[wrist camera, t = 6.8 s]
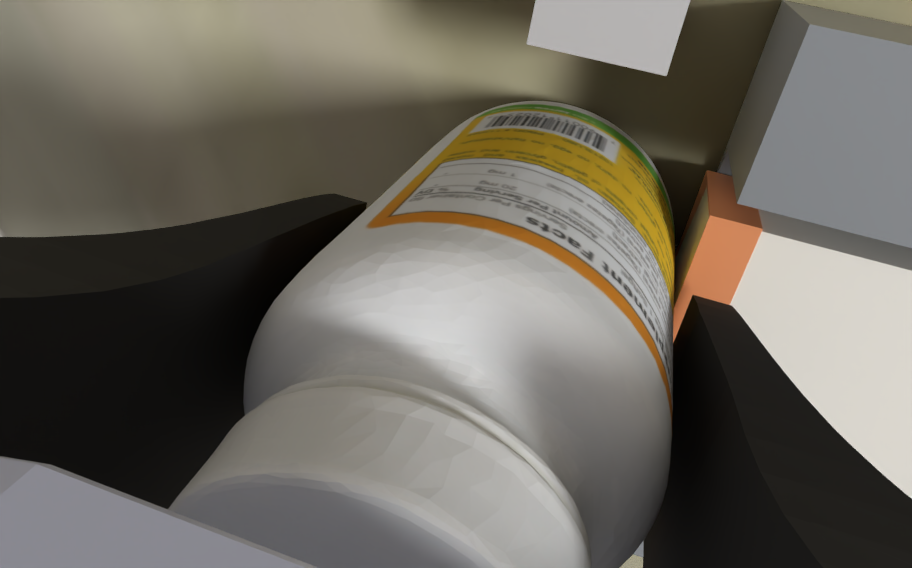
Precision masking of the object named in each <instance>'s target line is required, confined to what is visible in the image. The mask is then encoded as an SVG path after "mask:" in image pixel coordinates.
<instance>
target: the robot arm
mask: <svg viewBox="0 0 912 568" xmlns="http://www.w3.org/2000/svg"><path fill="white" fill-rule="evenodd" d="M366 204H367V203H366V202H362V201H359V200H355V199H351V198H348V197H344V196H341V195H337V194H325V195H318V196H313V197H308V198H303V199H299V200H295V201H290V202H286V203H282V204H278V205H274V206H269V207H265V208H261V209H257V210H253V211H248V212H244V213H240V214H235V215H230V216H225V217H220V218H215V219H211V220H206V221H201V222H196V223H191V224H186V225H180V226H174V227H167V228H160V229H153V230H144V231H135V232H126V233H116V234H103V235H82V236H60V237H0V568H318V567H316V566H313V565H310V564H308V563H305V562H303V561H300V560H298V559H295V558H292V557H290V556H287V555H285V554H282V553H279V552H277V551H274V550H272V549H269V548H266V547H264V546H261V545H259V544H256V543H253V542H251V541H248V540H246V539H243V538H240V537H238V536H235V535H233V534H230V533H227V532H225V531H222V530H220V529H217V528H214V527H212V526H209V525H207V524H204V523H201V522H199V521H196V520H194V519H191V518H188V517H186V516H183V515H181V514H178V513H175V512H173V511H170V510H168V508H169V507H170V506H171V504H172V503H173V502H174V501H175V499H176V498H177V497H178V495H179V494H180V493H181V492H182V490H183V489H184V488H185V487H186V486H187V484H188V483H189V482H190V481H191V480H192V478H193V477H194V476H195V475H196V474H197V472H198V471H199V470H200V469H201V468H202V466H203V465H204V464H205V463H206V462H207V460H208V459H209V458H210V457H211V455H212V454H213V453H214V451H215V450H216V449H217V447H218V446H219V445H220V443H221V442H222V441H223V439H224V438H225V436H226V435H227V434H228V432H229V431H230V430H231V429H232V428H233V426H234V425H235V424H236V423H237V422H238V421H239V420H241V419H242V418H243V417H244V416H245V413H244V404H243V396H244V379H245V370H246V364H247V358H248V355H249V351H250V348H251V345H252V342H253V339H254V337H255V334H256V332H257V330H258V328H259V325H260V323H261V321H262V319H263V318H264V316H265V314H266V313H267V311H268V309H269V308H270V306H271V305H272V303H273V302H274V300H275V299H276V298H277V297H278V295H279V294H280V293H281V292H282V291H283V290H284V288H285V287H286V286H287V285H288V284H289V283H290V282H291V281H292V280H293V278H294V277H295V276H296V275H297V274H298V273H299V272H300V271H301V270H302V269H303V268H304V267H305V266H306V265H307V264H308V263H309V262H310V261H311V260H312V259H313V258H314V257H315V256H316V255H317V254H318V253H319V252H320V251H321V250H323V249H324V248H325V247H326V246H327V245H328V244H329V243H330V242H331V241H333V240H334V239H335V238H336V237H337V236H338V235H339V234H340V233H341V232H342V231H344V230H345V229H346V228H347V227H348V226H349V225H350V224H351V223H352V222H353V221H354V220H355V219H356V218H358V217H359V216H360V215H361V214H362V213H363V212H364V211H365V210H366ZM643 568H912V498H910V497H909V496H908V495H906V494H905V493H904V492H903V491H902V490H900V489H899V488H898V487H897V486H896V485H895V484H893V483H892V482H891V481H890V480H889V479H887V478H886V477H885V476H884V475H883V474H882V473H881V472H880V471H878V470H877V469H876V468H875V467H874V466H873V465H872V464H871V463H870V462H869V461H868V460H867V459H865V458H864V457H863V456H862V455H861V454H860V453H859V452H858V451H857V450H856V449H855V448H854V447H852V446H851V445H850V444H849V443H848V442H847V441H846V440H845V439H844V438H843V437H842V436H841V435H840V434H839V433H838V432H837V431H836V430H835V429H834V428H833V427H832V426H831V425H830V424H829V423H828V421H827V420H826V419H825V418H824V417H823V416H822V415H821V414H820V413H819V412H818V411H817V409H816V408H815V407H814V406H813V405H812V404H811V403H810V402H809V401H808V400H807V398H806V397H805V396H804V395H803V394H802V393H801V392H800V390H799V389H798V388H797V387H796V386H795V384H794V383H793V382H792V381H791V380H790V378H789V377H788V376H787V375H786V374H785V372H784V371H783V370H782V369H781V367H780V366H779V365H778V364H777V362H776V361H775V360H774V358H773V357H772V356H771V355H770V353H769V352H768V351H767V349H766V348H765V347H764V345H763V344H762V343H761V342H760V340H759V339H758V338H757V336H756V335H755V334H754V332H753V331H752V330H751V328H750V327H749V326H748V324H747V323H746V322H745V320H744V319H743V318H742V317H741V315H740V314H739V313H738V312H737V311H736V309H735V308H734V307H733V306H731V305H728V304H724V303H721V302H717V301H713V300H710V299H706V298H703V297H699V296H696V295H692V298H691V300H690V303H689V305H688V308H687V310H686V313H685V315H684V318H683V320H682V323H681V325H680V328H679V330H678V333H677V335H676V338H675V340H674V343H673V414H672V442H671V457H670V468H669V476H668V483H667V488H666V491H665V495H664V499H663V502H662V505H661V508H660V511H659V514H658V516H657V517H656V519H655V521H654V523H653V525H652V527H651V529H650V531H649V532H648V534H647V536H646V538H645V539H644V550H643Z"/></svg>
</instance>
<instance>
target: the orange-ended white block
mask: <svg viewBox="0 0 912 568" xmlns="http://www.w3.org/2000/svg"><path fill="white" fill-rule="evenodd" d="M692 295H696V296H699V297H703V298H706V299H710V300H713V301H717V302H721V303H724V304H728V305H731V306H733V307H734V308H735V309H736V311H737V312H738V313H739V314H740V315H741V317H742V318H743V319H744V320H745V322H746V323H747V324H748V326H749V327H750V328H751V330H752V331H753V332H754V334H755V335H756V336H757V338H758V339H759V340H760V342H761V343H762V344H763V345H764V347H765V348H766V349H767V351H768V352H769V353H770V355H771V356H772V357H773V358H774V360H775V361H776V362H777V364H778V365H779V366H780V367H781V369H782V370H783V371H784V372H785V374H786V375H787V376H788V377H789V378H790V380H791V381H792V382H793V383H794V384H795V386H796V387H797V388H798V389H799V390H800V392H801V393H802V394H803V395H804V396H805V397H806V398H807V400H808V401H809V402H810V403H811V404H812V405H813V406H814V407H815V408H816V409H817V411H818V412H819V413H820V414H821V415H822V416H823V417H824V418H825V419H826V420H827V421H828V423H829V424H830V425H831V426H832V427H833V428H834V429H835V430H836V431H837V432H838V433H839V434H840V435H841V436H842V437H843V438H844V439H845V440H846V441H847V442H848V443H849V444H850V445H851V446H852V447H854V448H855V449H856V450H857V451H858V452H859V453H860V454H861V455H862V456H863V457H864V458H865V459H867V460H868V461H869V462H870V463H871V464H872V465H873V466H874V467H875V468H876V469H877V470H878V471H880V472H881V473H882V474H883V475H884V476H885V477H886V478H887V479H889V480H890V481H891V482H892V483H893V484H895V485H896V486H897V487H898V488H899V489H900V490H902V491H903V492H904V493H905V494H906V495H908V496H909V497H910V498H912V248H909V247H905V246H901V245H897V244H893V243H889V242H885V241H881V240H877V239H873V238H870V237H866V236H862V235H858V234H854V233H850V232H846V231H842V230H838V229H834V228H831V227H827V226H823V225H819V224H815V223H811V222H807V221H803V220H799V219H795V218H792V217H788V216H784V215H780V214H776V213H772V212H768V211H764V210H760V209H756V208H753V207H749V206H745V205H741V204H737V201H736V195H735V189H734V183H733V177H732V176H729V175H725V174H721V173H717V172H713V171H709V170H707V171H706V173H705V176H704V179H703V181H702V184H701V187H700V189H699V192H698V195H697V198H696V200H695V203H694V206H693V208H692V211H691V214H690V216H689V219H688V222H687V224H686V227H685V230H684V233H683V235H682V238H681V241H680V243H679V246H678V249H677V251H676V254H675V271H674V311H673V343H674V340H675V338H676V335H677V333H678V330H679V328H680V325H681V323H682V320H683V318H684V315H685V313H686V310H687V308H688V305H689V303H690V300H691V298H692Z"/></svg>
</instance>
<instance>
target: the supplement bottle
mask: <svg viewBox="0 0 912 568" xmlns="http://www.w3.org/2000/svg"><path fill="white" fill-rule="evenodd" d="M674 271H675V231H674V220H673V213H672V208H671V204H670V200H669V196H668V193H667V190H666V188H665V185H664V183H663V180H662V178H661V176H660V174H659V172H658V170H657V169H656V167H655V165H654V164H653V162H652V161H651V159H650V158H649V157H648V155H647V154H646V153H645V151H644V150H643V149H642V148H641V147H640V146H639V145H638V144H637V143H636V142H635V141H634V140H633V139H632V138H631V137H630V136H629V135H628V134H626V133H625V132H624V131H622V130H621V129H620V128H618V127H617V126H615V125H614V124H612V123H611V122H609V121H608V120H606V119H604V118H602V117H600V116H598V115H596V114H594V113H592V112H589V111H587V110H584V109H581V108H578V107H575V106H571V105H567V104H563V103H557V102H549V101H522V102H515V103H509V104H504V105H500V106H497V107H493V108H491V109H488V110H485V111H483V112H481V113H479V114H477V115H475V116H472V117H471V118H469V119H467V120H466V121H464V122H463V123H461V124H460V125H458V126H457V127H456V128H454V129H453V130H452V131H451V132H449V133H448V134H447V135H446V136H445V137H444V138H442V139H441V140H440V141H439V142H438V143H437V144H436V145H434V146H433V147H432V148H431V149H430V150H429V151H428V152H427V153H426V154H425V155H424V156H422V157H421V158H420V159H419V160H418V161H417V162H416V163H415V164H414V165H413V166H412V167H411V168H410V169H409V170H408V171H407V172H406V173H404V174H403V175H402V176H401V177H400V178H399V179H398V180H397V181H396V182H395V183H394V184H393V185H392V186H391V187H390V188H389V189H388V190H386V191H385V192H384V193H383V194H382V195H381V196H380V197H379V198H378V199H377V200H376V201H375V202H374V203H373V204H371V205H370V206H369V207H368V208H367V209H366V210H365V211H364V212H363V213H362V214H361V215H360V216H359V217H358V218H356V219H355V220H354V221H353V222H352V223H351V224H350V225H349V226H348V227H347V228H346V229H345V230H344V231H342V232H341V233H340V234H339V235H338V236H337V237H336V238H335V239H334V240H333V241H331V242H330V243H329V244H328V245H327V246H326V247H325V248H324V249H323V250H321V251H320V252H319V253H318V254H317V255H316V256H315V257H314V258H313V259H312V260H311V261H310V262H309V263H308V264H307V265H306V266H305V267H304V268H303V269H302V270H301V271H300V272H299V273H298V274H297V275H296V276H295V277H294V278H293V280H292V281H291V282H290V283H289V284H288V285H287V286H286V287H285V288H284V290H283V291H282V292H281V293H280V294H279V295H278V297H277V298H276V299H275V300H274V302H273V303H272V305H271V306H270V308H269V309H268V311H267V313H266V314H265V316H264V318H263V319H262V321H261V323H260V325H259V328H258V330H257V332H256V334H255V337H254V339H253V342H252V345H251V348H250V351H249V355H248V358H247V364H246V370H245V379H244V396H243V404H244V413H245V416H244V417H243V418H242V419H241V420H239V421H238V422H237V423H236V424H235V425H234V426H233V428H232V429H231V430H230V431H229V432H228V434H227V435H226V436H225V438H224V439H223V441H222V442H221V443H220V445H219V446H218V447H217V449H216V450H215V451H214V453H213V454H212V455H211V457H210V458H209V459H208V460H207V462H206V463H205V464H204V465H203V466H202V468H201V469H200V470H199V471H198V472H197V474H196V475H195V476H194V477H193V478H192V480H191V481H190V482H189V483H188V484H187V486H186V487H185V488H184V489H183V490H182V492H181V493H180V494H179V495H178V497H177V498H176V499H175V501H174V502H173V503H172V504H171V506H170V507H169V508H168V510H170V511H173V512H175V513H178V514H181V515H183V516H186V517H188V518H191V519H194V520H196V521H199V522H201V523H204V524H207V525H209V526H212V527H214V528H217V529H220V530H222V531H225V532H227V533H230V534H233V535H235V536H238V537H240V538H243V539H246V540H248V541H251V542H253V543H256V544H259V545H261V546H264V547H266V548H269V549H272V550H274V551H277V552H279V553H282V554H285V555H287V556H290V557H292V558H295V559H298V560H300V561H303V562H305V563H308V564H310V565H313V566H316V567H318V568H619V567H620V566H621V565H622V564H623V563H624V562H625V561H626V560H627V559H629V558H630V557H631V556H632V555H633V554H634V553H635V551H636V550H637V549H638V547H639V546H640V544H641V543H642V542H643V540H644V539H645V538H646V536H647V534H648V532H649V531H650V529H651V527H652V525H653V523H654V521H655V519H656V517H657V516H658V514H659V511H660V508H661V505H662V502H663V499H664V495H665V491H666V488H667V483H668V476H669V468H670V457H671V442H672V414H673V311H674Z"/></svg>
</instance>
